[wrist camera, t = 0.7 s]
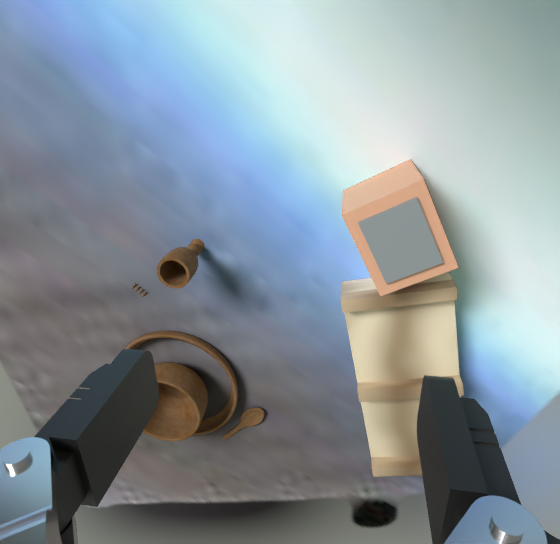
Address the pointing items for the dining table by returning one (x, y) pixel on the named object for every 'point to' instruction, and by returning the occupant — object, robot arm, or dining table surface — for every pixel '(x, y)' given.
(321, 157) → the dining table surface
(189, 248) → the place setting
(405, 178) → the frame block
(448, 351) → the light wooden ridged board
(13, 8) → the dining table surface
